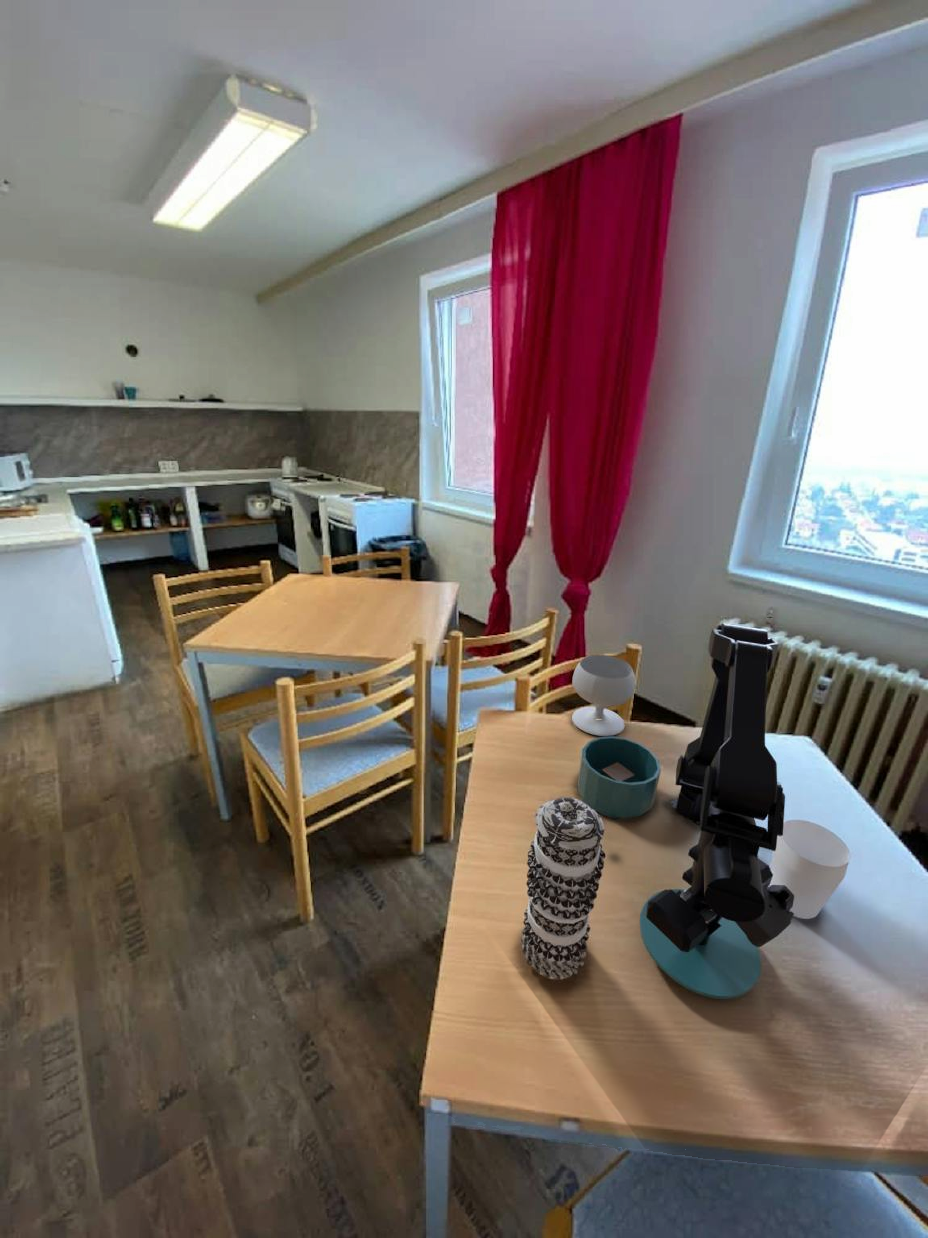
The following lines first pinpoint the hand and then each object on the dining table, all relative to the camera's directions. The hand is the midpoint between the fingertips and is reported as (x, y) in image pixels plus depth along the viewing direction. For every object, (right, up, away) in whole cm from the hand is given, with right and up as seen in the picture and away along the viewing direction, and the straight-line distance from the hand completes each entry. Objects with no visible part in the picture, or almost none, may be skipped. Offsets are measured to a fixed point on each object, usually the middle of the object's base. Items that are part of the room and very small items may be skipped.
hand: (698, 936), depth 70 cm
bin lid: (0, -1, 0) cm, 1 cm away
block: (-2, +10, +30) cm, 32 cm away
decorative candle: (-20, -3, 0) cm, 20 cm away
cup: (+18, 0, +9) cm, 20 cm away
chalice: (0, +18, +53) cm, 56 cm away
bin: (-2, +9, +30) cm, 32 cm away
